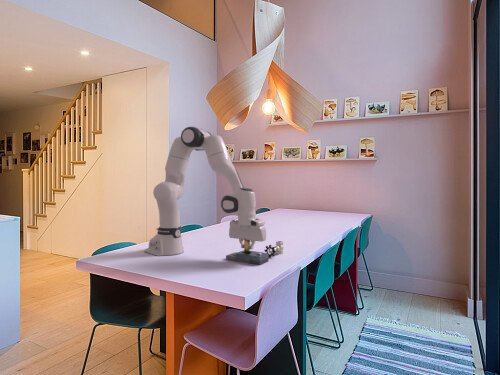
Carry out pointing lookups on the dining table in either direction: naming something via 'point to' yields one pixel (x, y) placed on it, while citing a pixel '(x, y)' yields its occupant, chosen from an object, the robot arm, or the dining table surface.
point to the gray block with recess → (249, 257)
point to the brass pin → (246, 246)
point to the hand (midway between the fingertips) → (247, 248)
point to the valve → (275, 249)
